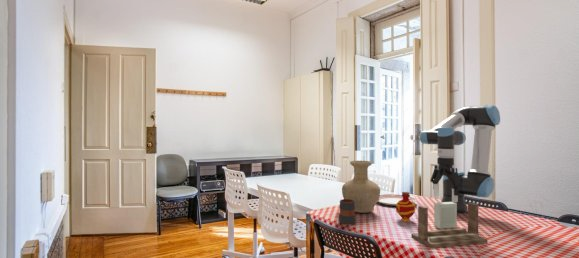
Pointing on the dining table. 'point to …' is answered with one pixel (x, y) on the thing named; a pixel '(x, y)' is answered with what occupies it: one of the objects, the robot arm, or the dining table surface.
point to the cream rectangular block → (445, 215)
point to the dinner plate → (392, 199)
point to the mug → (347, 212)
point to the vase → (361, 188)
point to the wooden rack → (449, 230)
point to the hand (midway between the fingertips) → (445, 199)
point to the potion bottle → (405, 207)
